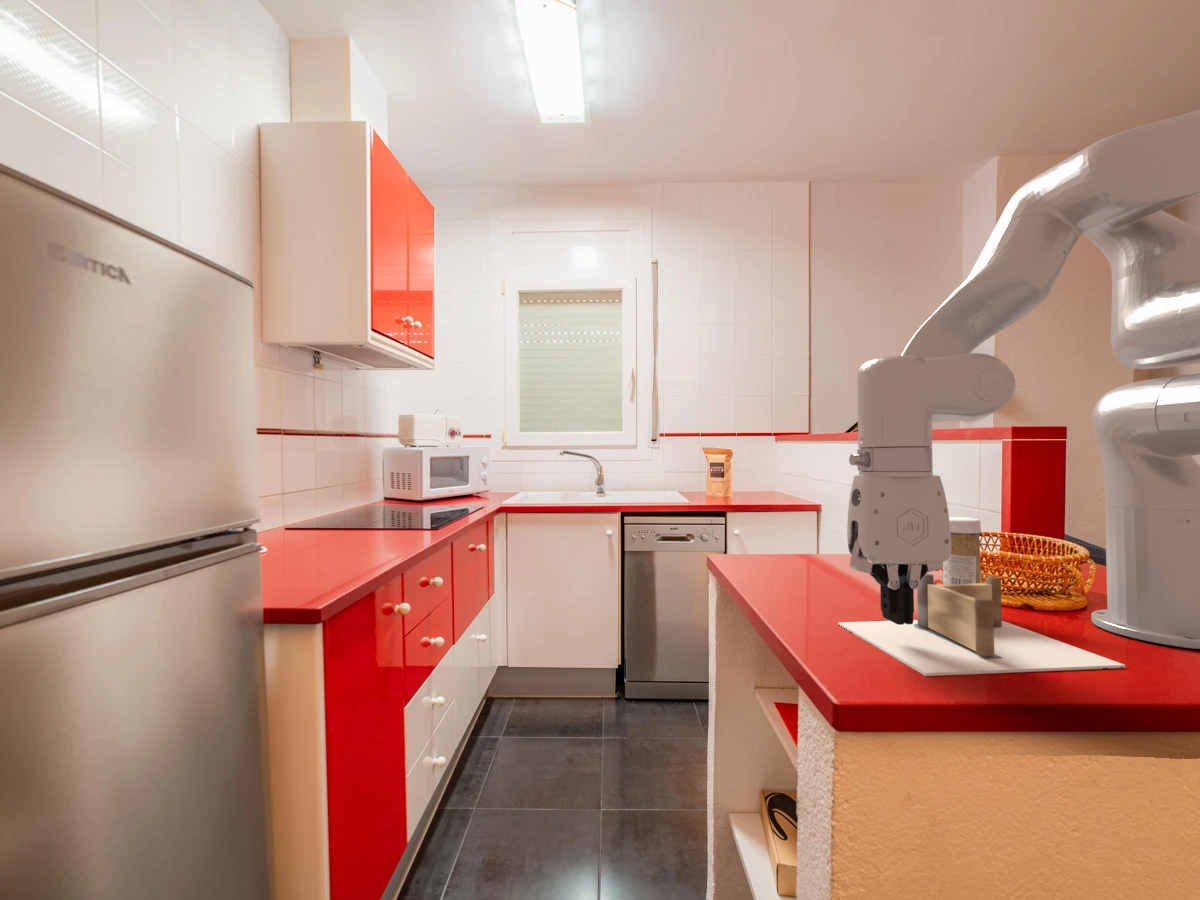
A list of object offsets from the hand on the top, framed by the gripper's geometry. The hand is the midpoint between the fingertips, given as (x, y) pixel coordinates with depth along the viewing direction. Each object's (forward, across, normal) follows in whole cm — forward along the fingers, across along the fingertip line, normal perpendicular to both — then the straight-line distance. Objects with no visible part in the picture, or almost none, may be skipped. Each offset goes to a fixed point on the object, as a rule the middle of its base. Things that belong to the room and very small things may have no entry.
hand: (897, 620), depth 59 cm
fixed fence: (+3, +12, +5) cm, 13 cm away
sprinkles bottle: (+3, +17, +11) cm, 21 cm away
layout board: (+3, +8, 0) cm, 9 cm away
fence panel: (+2, +7, -1) cm, 7 cm away
